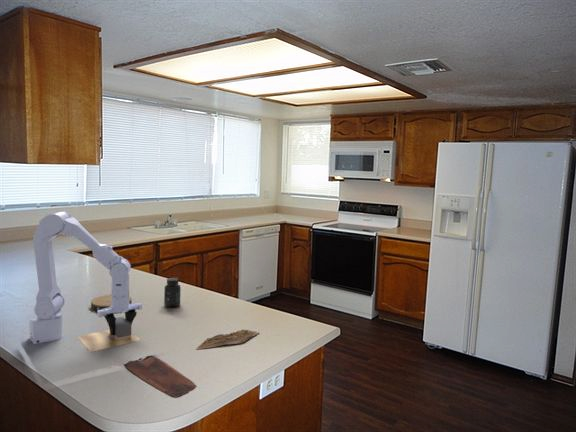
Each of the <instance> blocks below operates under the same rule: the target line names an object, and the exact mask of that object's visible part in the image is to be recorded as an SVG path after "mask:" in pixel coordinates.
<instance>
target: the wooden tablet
mask: <svg viewBox="0 0 576 432" xmlns="http://www.w3.org/2000/svg"><path fill="white" fill-rule="evenodd" d="M124 366H125V367H126V368H127V369H128V370H129V371H130V372H131V373H133V374H134V375H135V376H137V377H139V378H140V379H141V380H143V381H145V382H146V383H148V384H150V385H151V386H152V387H153V386H154V387H155V388H156V389H158V390H160V391H161V392H163V393H165V394H167V395H169V396H172V397H175V398H177V397H180V396H181V397H182V396H184V395H188V394H189V393H190V392H193V391H194V390H195V389H196V388H197V385H196V384H195V383H194V382H193V380H191V379H190V378H188V377H186V376H185V375H184V374H182V373H181V372H179V371H178V370H177V369H175V367H172V366H171V365H170V364H168V363H167V362H165V361H164V360H162V359H160V358H158V357H156V356H155V355H148V356H146V357H144V358H143V359H142V360H132V361H129V362H126V363H125V364H124Z"/></svg>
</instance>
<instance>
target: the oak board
mask: <svg viewBox="0 0 576 432" xmlns="http://www.w3.org/2000/svg"><path fill="white" fill-rule="evenodd" d="M76 338H77V339H78V340H79V341H80V343H82V344H83V345H84V347H85V348H86V349H87V350H89V352H90V353H92V352H96V351H101V350H106V349H109V348H110V349H111V348H113V347H118V346H122V345H125V344H131V343H134V342H138V341H141V339H140V338H139V337H137V336H136V335H135V334H134V333H133V332H131V338H128V339H123V340H119V341H118V340H117V339H116V338H115V337H113V336H112V335H111V334H110V329H106V330H101V331H96V332H91V333H88V334H82V335H78V336H76Z"/></svg>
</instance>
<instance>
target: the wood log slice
mask: <svg viewBox="0 0 576 432" xmlns="http://www.w3.org/2000/svg"><path fill="white" fill-rule="evenodd" d="M132 300H133V299H132V297H131V296H130V295H129V304H132ZM90 306H91V307H90V308H91V310H93V311H94V312H98V310H102V309H105V308H108V307H111V294H105V295H104V294H103V295H99V296H97V297H94V298H93V299H92V300H91V301H90Z"/></svg>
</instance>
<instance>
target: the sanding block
mask: <svg viewBox="0 0 576 432" xmlns="http://www.w3.org/2000/svg"><path fill="white" fill-rule="evenodd" d="M115 318H116V321H115V335H112V336H113V337H115V338H116V339H117V340H118V341H119V340H123V339H128V338H131V333H132V325H131V323H130V322H129V321H127V320H126V319H125V316H120V317H115ZM110 334H111V332H110Z"/></svg>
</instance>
